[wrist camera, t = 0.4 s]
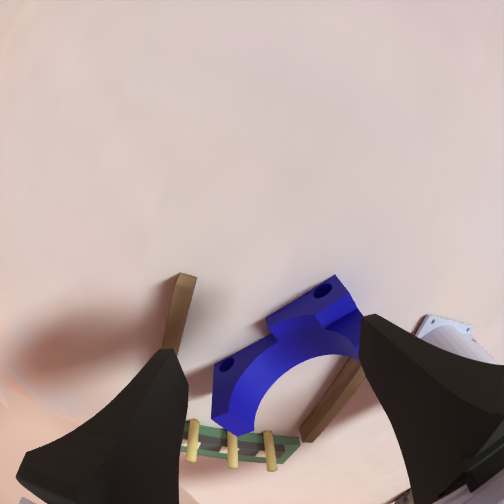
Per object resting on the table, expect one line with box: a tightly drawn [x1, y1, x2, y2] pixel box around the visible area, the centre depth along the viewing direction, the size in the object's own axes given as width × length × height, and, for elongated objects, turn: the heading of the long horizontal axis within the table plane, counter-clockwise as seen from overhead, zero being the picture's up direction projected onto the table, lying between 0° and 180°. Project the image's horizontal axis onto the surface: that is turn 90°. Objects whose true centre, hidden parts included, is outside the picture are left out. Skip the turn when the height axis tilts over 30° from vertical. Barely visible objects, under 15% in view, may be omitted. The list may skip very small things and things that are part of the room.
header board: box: [180, 419, 300, 472], centre depth 23 cm, size 16×6×5 cm, turn 72°
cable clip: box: [211, 275, 364, 437], centre depth 18 cm, size 12×4×6 cm, turn 124°
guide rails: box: [162, 273, 366, 443], centre depth 21 cm, size 17×15×2 cm
